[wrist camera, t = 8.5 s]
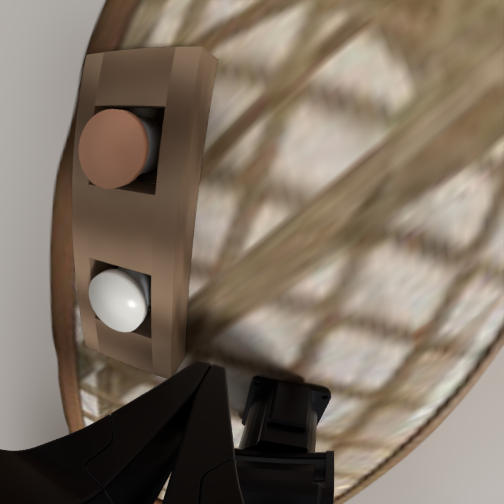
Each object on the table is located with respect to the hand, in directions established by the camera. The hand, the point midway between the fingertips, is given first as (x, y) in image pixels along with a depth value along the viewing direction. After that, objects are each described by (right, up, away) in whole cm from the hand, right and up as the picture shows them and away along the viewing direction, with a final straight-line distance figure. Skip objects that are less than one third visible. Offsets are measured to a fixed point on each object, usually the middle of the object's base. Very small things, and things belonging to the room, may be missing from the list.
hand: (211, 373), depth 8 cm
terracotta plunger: (-6, +10, +10) cm, 15 cm away
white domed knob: (-7, +1, +14) cm, 16 cm away
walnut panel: (-6, +6, +12) cm, 15 cm away
